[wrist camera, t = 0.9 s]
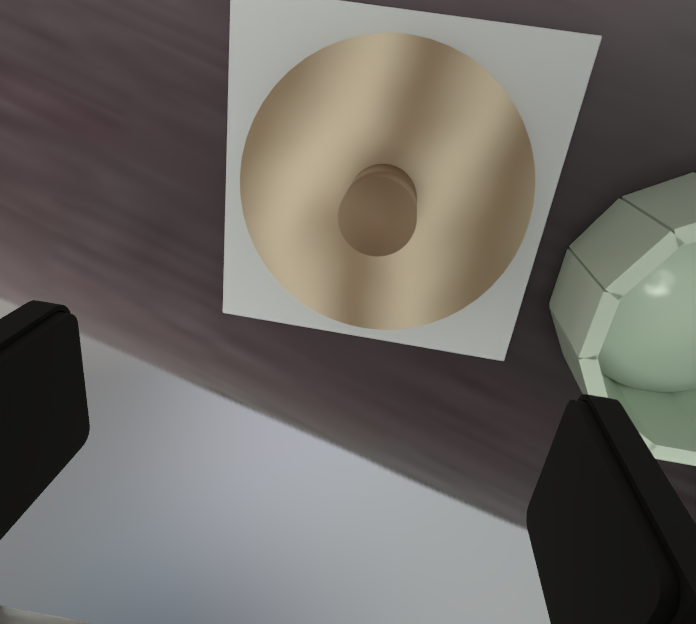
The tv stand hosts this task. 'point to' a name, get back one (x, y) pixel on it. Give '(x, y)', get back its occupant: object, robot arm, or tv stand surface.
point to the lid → (387, 181)
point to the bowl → (637, 313)
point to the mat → (458, 32)
